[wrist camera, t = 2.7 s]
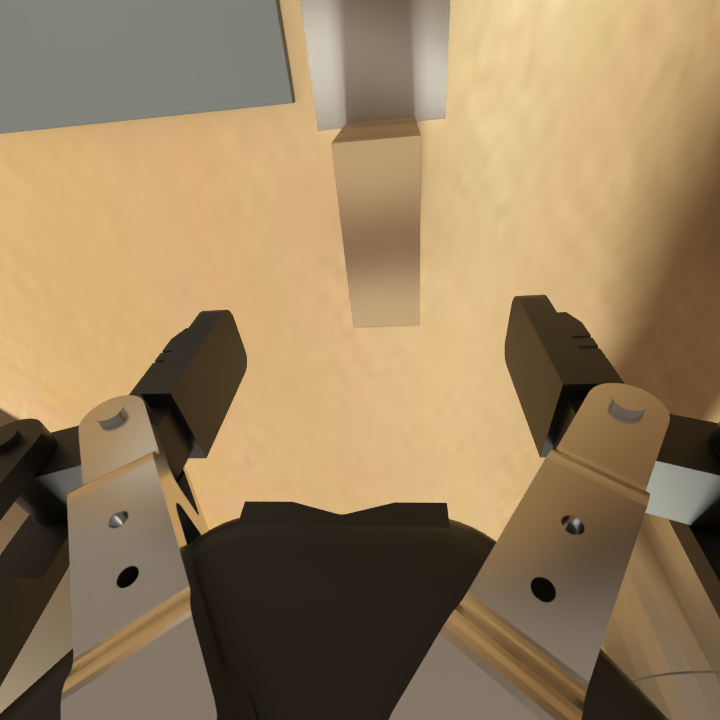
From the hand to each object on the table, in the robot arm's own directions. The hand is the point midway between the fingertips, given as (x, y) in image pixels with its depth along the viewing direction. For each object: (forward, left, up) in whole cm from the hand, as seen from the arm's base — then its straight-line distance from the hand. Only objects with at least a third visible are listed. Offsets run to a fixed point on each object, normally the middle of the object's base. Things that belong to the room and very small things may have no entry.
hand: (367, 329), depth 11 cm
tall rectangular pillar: (0, -5, -12) cm, 13 cm away
